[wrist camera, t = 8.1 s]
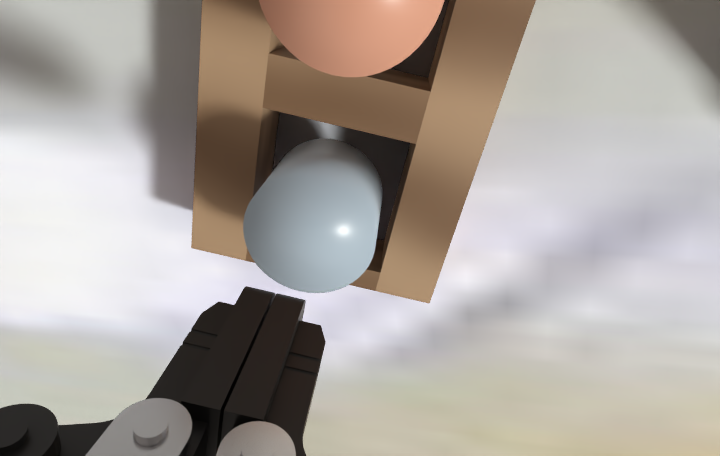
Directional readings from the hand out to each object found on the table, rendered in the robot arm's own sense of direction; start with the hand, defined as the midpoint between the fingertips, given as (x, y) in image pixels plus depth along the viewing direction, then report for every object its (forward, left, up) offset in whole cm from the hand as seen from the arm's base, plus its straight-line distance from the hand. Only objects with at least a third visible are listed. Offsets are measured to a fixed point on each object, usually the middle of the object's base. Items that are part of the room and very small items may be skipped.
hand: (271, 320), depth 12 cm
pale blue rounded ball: (0, 0, -9) cm, 9 cm away
